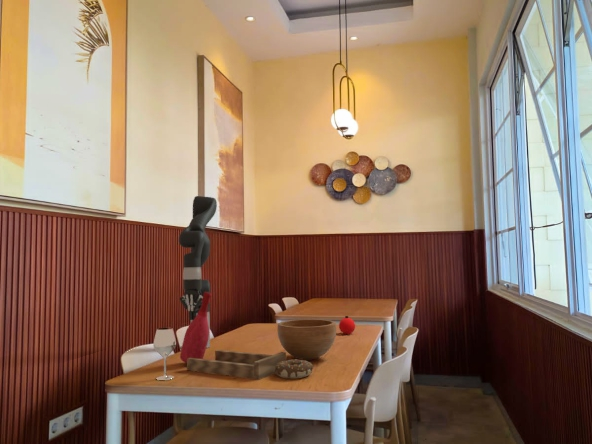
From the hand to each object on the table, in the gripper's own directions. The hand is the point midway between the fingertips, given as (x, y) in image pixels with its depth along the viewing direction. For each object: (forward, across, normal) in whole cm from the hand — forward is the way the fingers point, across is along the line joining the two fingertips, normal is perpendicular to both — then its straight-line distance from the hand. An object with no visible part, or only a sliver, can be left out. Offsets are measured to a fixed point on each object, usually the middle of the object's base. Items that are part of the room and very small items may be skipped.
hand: (192, 319), depth 193 cm
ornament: (+18, +29, +92) cm, 99 cm away
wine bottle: (+17, -1, 0) cm, 17 cm away
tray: (+18, +21, 0) cm, 28 cm away
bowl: (+18, +39, +27) cm, 51 cm away
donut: (+19, +47, +2) cm, 51 cm away
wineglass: (+18, +6, -22) cm, 29 cm away
